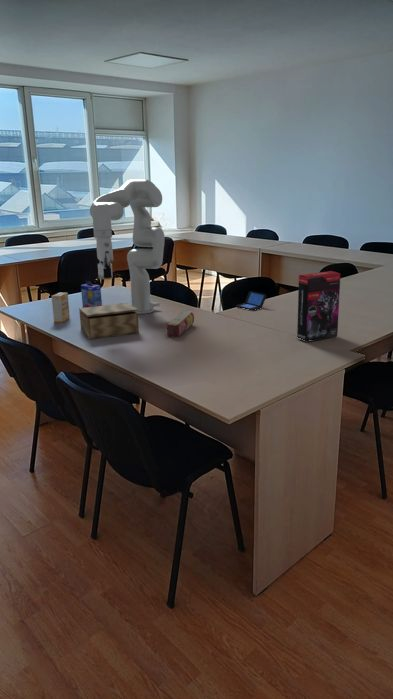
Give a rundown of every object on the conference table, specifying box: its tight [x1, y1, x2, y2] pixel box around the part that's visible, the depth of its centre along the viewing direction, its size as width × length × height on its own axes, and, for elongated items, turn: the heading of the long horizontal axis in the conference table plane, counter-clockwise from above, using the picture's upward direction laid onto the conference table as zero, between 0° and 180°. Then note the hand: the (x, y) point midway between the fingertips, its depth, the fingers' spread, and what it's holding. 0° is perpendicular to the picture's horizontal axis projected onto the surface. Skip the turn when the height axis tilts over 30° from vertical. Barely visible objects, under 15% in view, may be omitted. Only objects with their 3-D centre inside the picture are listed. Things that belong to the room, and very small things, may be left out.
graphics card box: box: [296, 270, 341, 341], centre depth 215 cm, size 17×7×27 cm, turn 117°
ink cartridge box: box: [80, 280, 103, 308], centre depth 273 cm, size 10×6×14 cm, turn 54°
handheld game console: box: [235, 290, 267, 311], centre depth 271 cm, size 12×11×7 cm
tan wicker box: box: [78, 310, 140, 340], centre depth 232 cm, size 22×17×9 cm
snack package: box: [166, 310, 195, 338], centre depth 232 cm, size 21×7×7 cm, turn 163°
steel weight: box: [97, 262, 114, 280], centre depth 225 cm, size 6×6×6 cm
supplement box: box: [51, 292, 71, 323], centre depth 250 cm, size 8×5×13 cm, turn 168°
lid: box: [79, 303, 138, 317], centre depth 230 cm, size 22×17×1 cm
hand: (105, 276), depth 226 cm, fingers closed on steel weight, 6 cm apart
